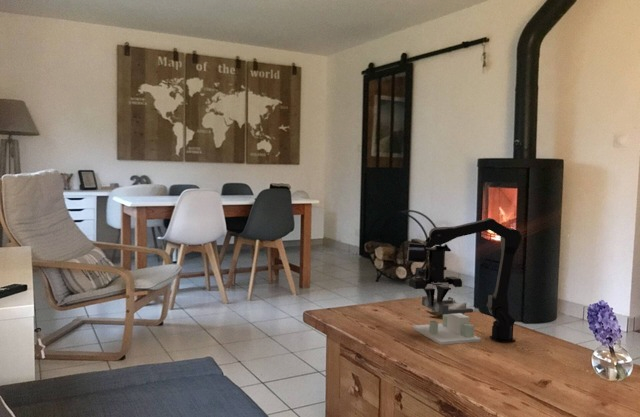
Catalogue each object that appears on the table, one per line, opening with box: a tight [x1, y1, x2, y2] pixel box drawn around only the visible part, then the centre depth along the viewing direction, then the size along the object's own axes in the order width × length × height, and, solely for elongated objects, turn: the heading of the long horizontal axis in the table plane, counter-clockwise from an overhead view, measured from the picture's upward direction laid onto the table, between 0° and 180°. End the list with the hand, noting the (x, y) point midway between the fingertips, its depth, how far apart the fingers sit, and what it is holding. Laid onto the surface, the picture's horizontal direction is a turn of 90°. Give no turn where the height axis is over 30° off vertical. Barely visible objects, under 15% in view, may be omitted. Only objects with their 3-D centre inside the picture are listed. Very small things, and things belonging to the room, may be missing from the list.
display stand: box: [412, 313, 482, 346], centre depth 195 cm, size 16×20×7 cm
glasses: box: [421, 295, 474, 314], centre depth 195 cm, size 12×14×3 cm
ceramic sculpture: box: [426, 296, 467, 318], centre depth 219 cm, size 11×9×15 cm
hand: (434, 306), depth 193 cm, fingers closed on glasses, 2 cm apart
